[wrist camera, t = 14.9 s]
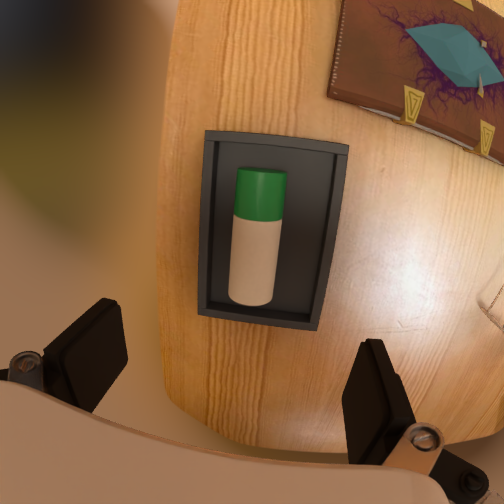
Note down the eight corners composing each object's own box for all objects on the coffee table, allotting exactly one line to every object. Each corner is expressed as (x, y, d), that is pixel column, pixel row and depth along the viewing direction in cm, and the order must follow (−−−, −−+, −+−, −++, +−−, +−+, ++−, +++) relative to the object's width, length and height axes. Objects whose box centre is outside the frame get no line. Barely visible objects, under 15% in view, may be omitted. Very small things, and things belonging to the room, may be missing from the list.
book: (531, 187, 20) (560, 199, 16) (318, 102, 22) (323, 94, 17) (545, 56, 14) (571, 52, 9) (342, -47, 15) (349, -74, 11)
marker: (281, 298, 25) (248, 310, 22) (252, 281, 27) (219, 291, 25) (297, 173, 21) (261, 173, 19) (263, 167, 24) (227, 166, 21)
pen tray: (315, 319, 27) (316, 331, 25) (203, 303, 28) (197, 314, 26) (344, 145, 22) (349, 145, 20) (212, 131, 23) (205, 130, 21)
